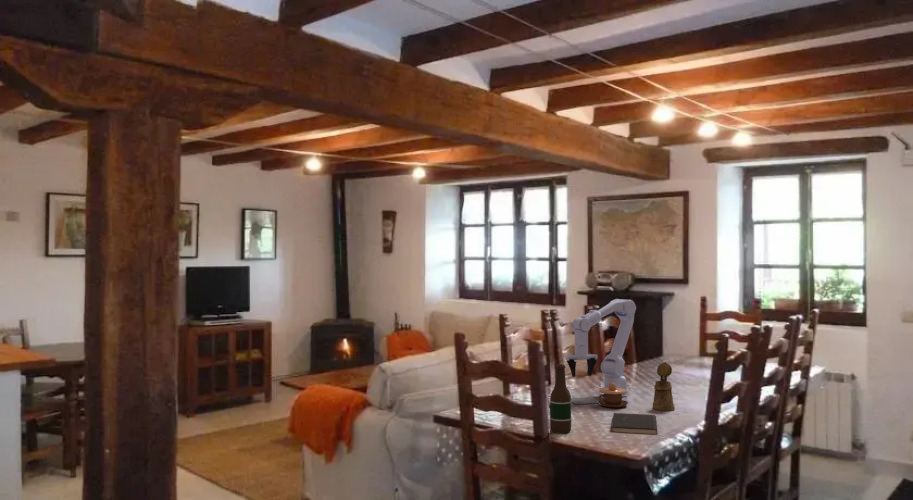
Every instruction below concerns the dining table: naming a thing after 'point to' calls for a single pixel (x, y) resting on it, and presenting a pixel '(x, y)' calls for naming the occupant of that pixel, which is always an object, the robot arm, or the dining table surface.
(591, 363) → the robot arm
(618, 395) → the cup and saucer
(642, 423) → the hardcover book
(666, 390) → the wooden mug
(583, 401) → the coaster
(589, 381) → the dining table surface
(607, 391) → the lid
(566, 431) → the beer bottle
